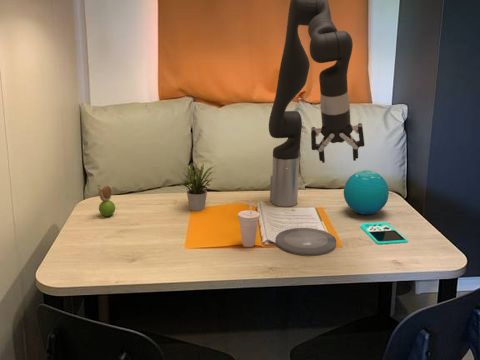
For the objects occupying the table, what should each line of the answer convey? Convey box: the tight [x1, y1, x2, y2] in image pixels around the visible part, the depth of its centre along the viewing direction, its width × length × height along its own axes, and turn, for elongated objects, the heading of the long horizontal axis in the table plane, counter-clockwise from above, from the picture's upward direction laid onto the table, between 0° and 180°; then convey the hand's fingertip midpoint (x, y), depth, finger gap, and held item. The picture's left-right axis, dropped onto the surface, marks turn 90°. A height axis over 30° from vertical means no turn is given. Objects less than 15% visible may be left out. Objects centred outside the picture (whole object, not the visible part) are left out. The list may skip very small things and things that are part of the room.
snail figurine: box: [96, 184, 116, 217], centre depth 185 cm, size 5×6×12 cm
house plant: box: [177, 162, 217, 212], centre depth 192 cm, size 14×14×16 cm
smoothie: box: [237, 199, 261, 248], centre depth 163 cm, size 6×6×14 cm
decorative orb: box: [343, 169, 390, 215], centre depth 188 cm, size 15×15×15 cm
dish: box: [275, 227, 337, 257], centre depth 166 cm, size 18×18×1 cm
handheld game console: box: [359, 221, 409, 246], centre depth 173 cm, size 10×16×1 cm, turn 10°
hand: (338, 160), depth 154 cm, fingers open, 8 cm apart
